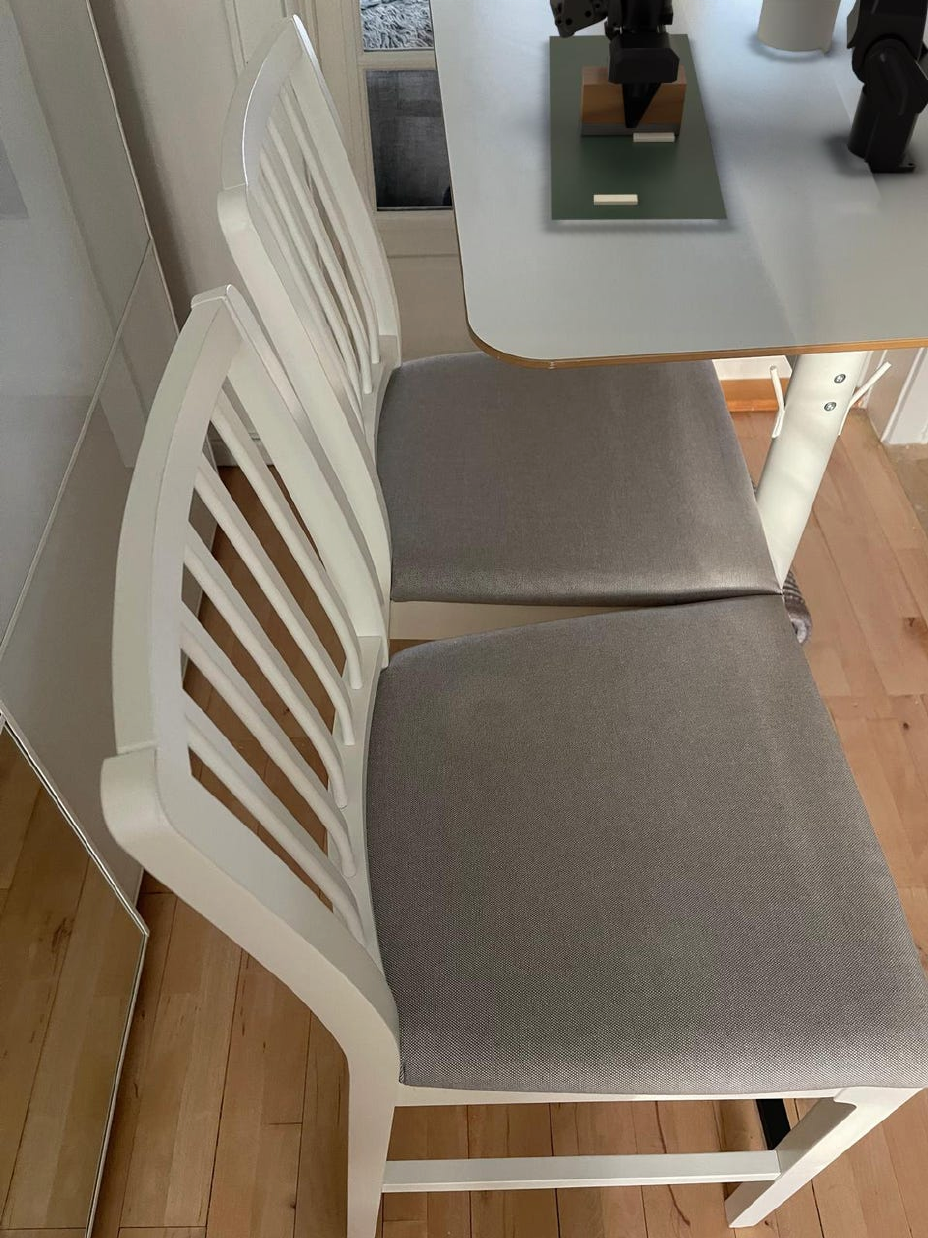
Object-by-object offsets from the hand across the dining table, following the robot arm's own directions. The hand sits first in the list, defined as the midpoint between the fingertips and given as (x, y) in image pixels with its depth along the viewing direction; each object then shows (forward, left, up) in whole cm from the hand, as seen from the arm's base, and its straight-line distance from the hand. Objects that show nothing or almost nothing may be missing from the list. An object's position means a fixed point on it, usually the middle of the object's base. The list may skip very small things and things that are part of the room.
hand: (629, 117), depth 100 cm
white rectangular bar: (-15, +2, -1) cm, 15 cm away
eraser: (0, 0, -1) cm, 1 cm away
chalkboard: (+2, 0, -2) cm, 3 cm away
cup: (+21, -20, -2) cm, 29 cm away
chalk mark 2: (-3, -2, -1) cm, 4 cm away
